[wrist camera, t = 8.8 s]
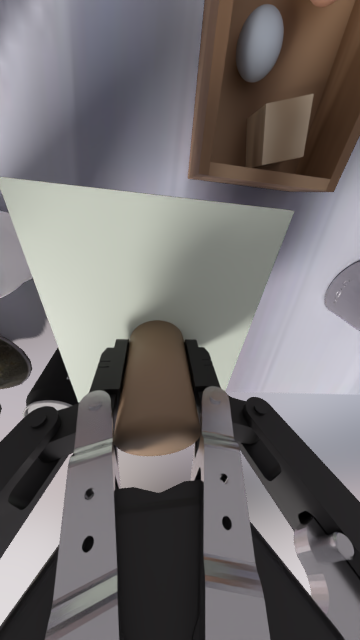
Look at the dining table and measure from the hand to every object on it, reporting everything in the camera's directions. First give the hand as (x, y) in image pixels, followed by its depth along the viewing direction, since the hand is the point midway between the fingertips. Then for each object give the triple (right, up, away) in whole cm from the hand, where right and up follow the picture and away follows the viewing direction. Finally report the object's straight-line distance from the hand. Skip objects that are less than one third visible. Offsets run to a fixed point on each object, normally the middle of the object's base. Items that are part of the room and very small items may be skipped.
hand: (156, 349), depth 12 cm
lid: (0, +1, +1) cm, 1 cm away
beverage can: (-14, -2, +18) cm, 23 cm away
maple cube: (+10, +19, +6) cm, 22 cm away
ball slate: (+7, +23, +3) cm, 24 cm away
